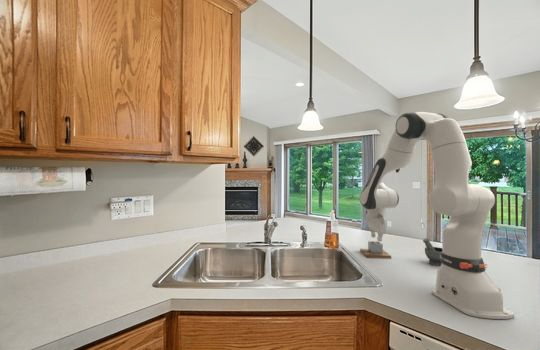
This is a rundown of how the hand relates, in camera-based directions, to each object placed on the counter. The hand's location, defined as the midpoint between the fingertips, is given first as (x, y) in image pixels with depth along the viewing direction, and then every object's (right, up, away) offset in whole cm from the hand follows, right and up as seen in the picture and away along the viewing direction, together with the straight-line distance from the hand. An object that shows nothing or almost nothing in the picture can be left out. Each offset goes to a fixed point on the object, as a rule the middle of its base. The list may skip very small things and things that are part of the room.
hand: (376, 239), depth 138 cm
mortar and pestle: (+23, -9, -13) cm, 28 cm away
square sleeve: (0, -7, 0) cm, 7 cm away
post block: (0, -8, +1) cm, 8 cm away
